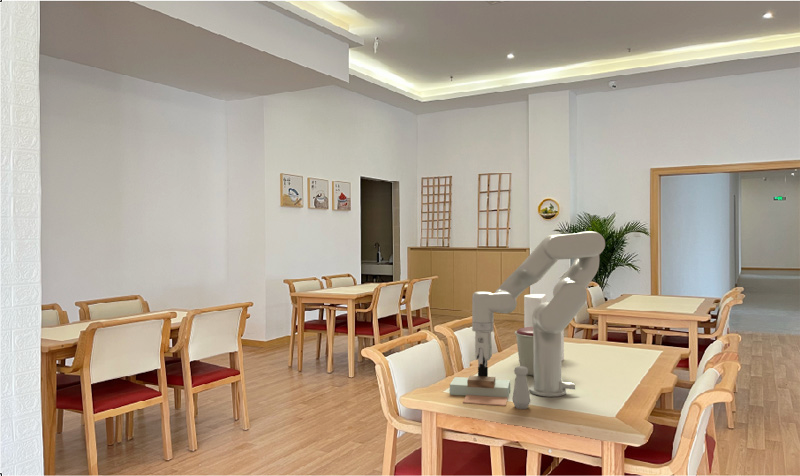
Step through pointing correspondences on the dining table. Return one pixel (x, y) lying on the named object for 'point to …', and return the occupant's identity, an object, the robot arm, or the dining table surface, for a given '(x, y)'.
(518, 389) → the salt shaker
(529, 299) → the white tall block
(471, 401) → the mat
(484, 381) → the brown wooden block
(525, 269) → the robot arm
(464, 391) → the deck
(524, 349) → the canister
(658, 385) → the dining table surface
